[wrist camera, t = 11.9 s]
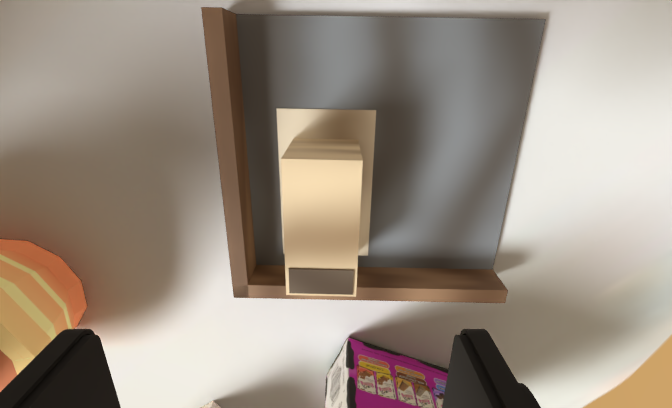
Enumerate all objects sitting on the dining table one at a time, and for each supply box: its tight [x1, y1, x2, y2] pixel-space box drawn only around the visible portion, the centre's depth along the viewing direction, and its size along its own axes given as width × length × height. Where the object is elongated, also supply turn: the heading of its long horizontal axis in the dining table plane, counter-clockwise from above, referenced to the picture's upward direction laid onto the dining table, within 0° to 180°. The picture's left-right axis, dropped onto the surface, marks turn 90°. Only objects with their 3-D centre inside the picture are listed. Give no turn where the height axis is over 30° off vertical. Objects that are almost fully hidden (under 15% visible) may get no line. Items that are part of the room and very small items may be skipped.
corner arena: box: [201, 7, 546, 303], centre depth 22 cm, size 18×17×3 cm
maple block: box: [281, 138, 363, 297], centre depth 21 cm, size 8×4×5 cm, turn 179°
